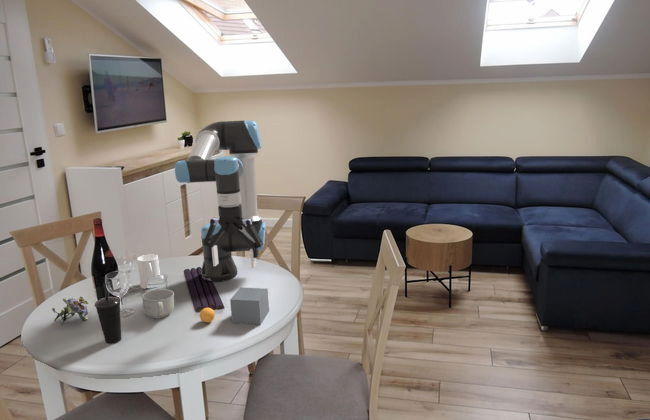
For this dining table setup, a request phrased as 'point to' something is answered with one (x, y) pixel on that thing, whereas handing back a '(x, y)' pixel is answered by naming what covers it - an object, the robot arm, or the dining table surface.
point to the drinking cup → (109, 317)
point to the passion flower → (73, 309)
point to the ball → (207, 315)
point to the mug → (147, 268)
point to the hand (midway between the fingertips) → (234, 265)
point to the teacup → (158, 302)
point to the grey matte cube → (249, 305)
